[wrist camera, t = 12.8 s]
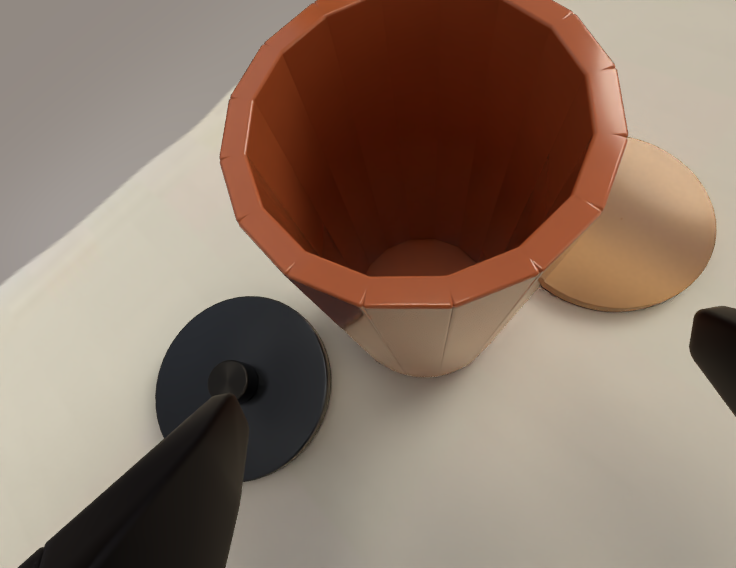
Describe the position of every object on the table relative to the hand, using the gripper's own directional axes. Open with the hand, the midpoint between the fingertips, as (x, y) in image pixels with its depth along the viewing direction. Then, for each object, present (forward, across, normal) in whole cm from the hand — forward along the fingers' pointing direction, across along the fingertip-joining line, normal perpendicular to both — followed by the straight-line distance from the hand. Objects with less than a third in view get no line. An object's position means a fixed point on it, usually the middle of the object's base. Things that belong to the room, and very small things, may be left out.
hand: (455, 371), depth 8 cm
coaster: (+11, -9, +2) cm, 14 cm away
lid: (+8, +9, +6) cm, 13 cm away
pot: (+10, 0, +4) cm, 11 cm away
